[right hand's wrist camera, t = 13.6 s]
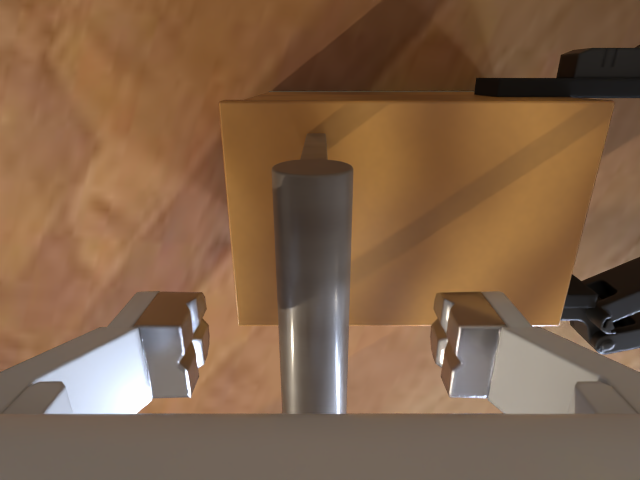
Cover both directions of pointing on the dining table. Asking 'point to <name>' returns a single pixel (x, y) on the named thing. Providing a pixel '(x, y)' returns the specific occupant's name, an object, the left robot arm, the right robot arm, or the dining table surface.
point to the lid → (399, 216)
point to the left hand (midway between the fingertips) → (470, 197)
